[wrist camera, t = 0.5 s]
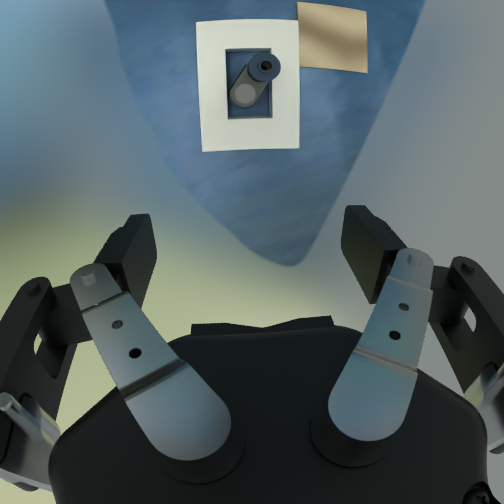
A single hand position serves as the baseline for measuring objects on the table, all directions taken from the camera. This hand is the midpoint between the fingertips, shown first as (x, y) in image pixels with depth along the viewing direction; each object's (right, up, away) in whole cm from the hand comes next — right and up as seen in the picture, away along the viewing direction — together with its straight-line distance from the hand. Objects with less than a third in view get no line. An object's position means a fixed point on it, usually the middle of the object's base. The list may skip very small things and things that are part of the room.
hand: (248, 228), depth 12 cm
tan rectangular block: (+9, +23, +14) cm, 28 cm away
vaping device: (0, +17, +17) cm, 24 cm away
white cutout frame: (0, +17, +17) cm, 24 cm away
